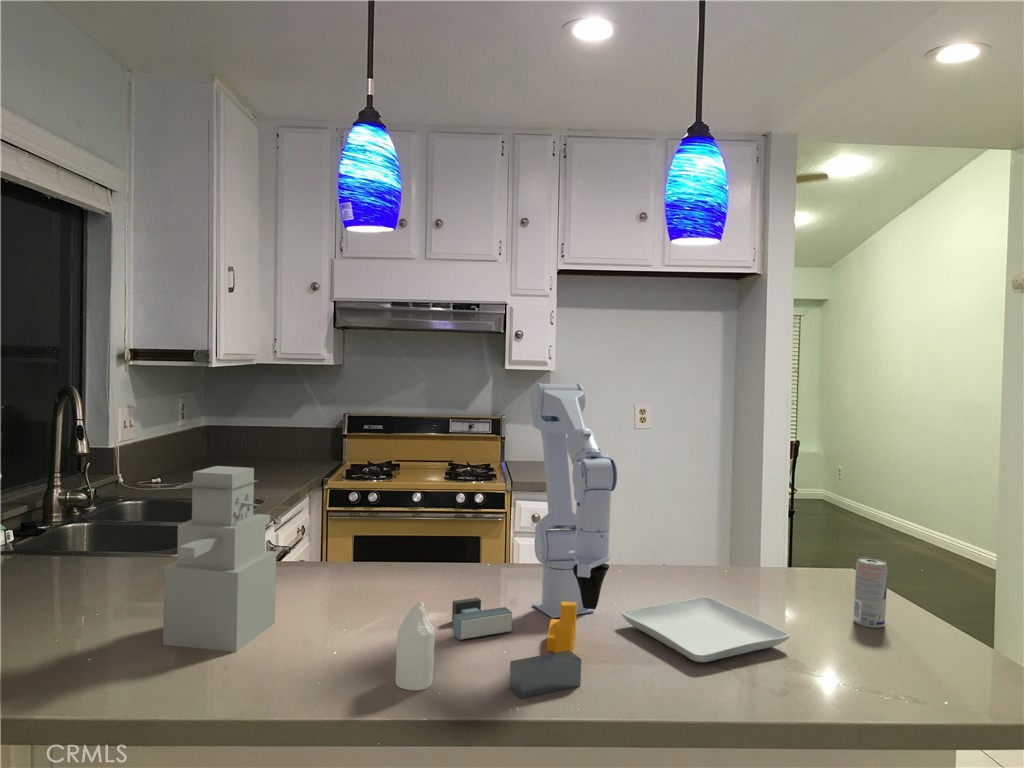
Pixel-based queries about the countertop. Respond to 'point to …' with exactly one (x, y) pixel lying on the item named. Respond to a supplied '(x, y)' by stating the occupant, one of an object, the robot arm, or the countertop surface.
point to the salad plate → (705, 628)
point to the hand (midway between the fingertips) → (589, 607)
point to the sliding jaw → (478, 619)
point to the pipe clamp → (563, 629)
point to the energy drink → (870, 592)
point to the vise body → (545, 674)
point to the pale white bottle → (415, 651)
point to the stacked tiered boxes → (220, 566)
